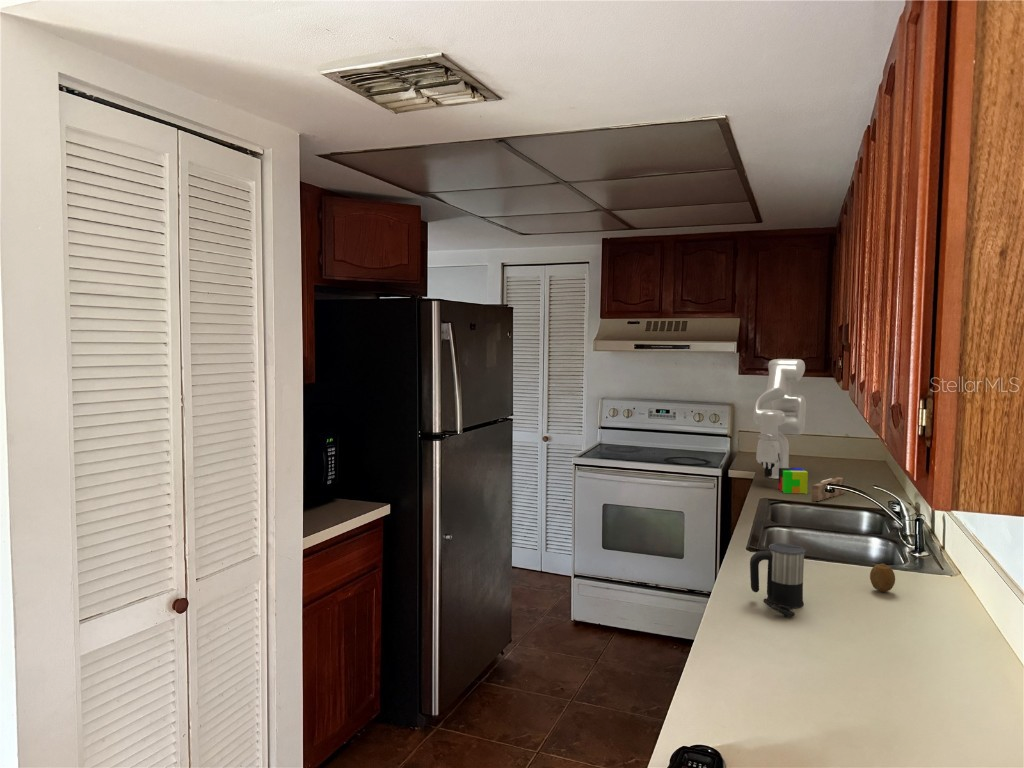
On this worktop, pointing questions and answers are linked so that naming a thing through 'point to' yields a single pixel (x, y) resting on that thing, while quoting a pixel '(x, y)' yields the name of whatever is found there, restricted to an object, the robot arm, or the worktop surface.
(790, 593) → the milk frother
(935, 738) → the worktop surface
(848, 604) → the worktop surface
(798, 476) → the puzzle toy
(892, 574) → the fruit
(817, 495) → the wooden notched board
